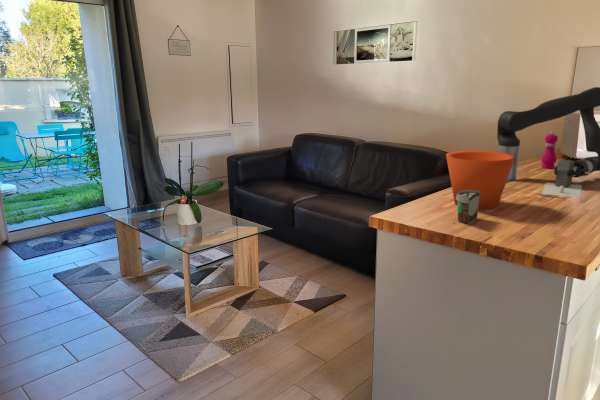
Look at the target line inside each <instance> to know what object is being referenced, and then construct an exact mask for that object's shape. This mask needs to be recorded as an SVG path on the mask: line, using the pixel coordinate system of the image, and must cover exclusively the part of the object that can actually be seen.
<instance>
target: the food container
mask: <svg viewBox="0 0 600 400" xmlns="http://www.w3.org/2000/svg"><path fill="white" fill-rule="evenodd" d="M479 197H480V191H477V190H465V191H460V192H458V194H457V196H456V200H457V201H458V206H457V222H459V223H461V224H462V223H463V225H466V224H467V226H469V225H470V224H472V223H473V222H474V221H476V220H477V219H478V214H479V213H478V212H479V210H478V206H479ZM476 218H477V219H476ZM473 220H474V221H473ZM472 221H473V222H472ZM468 224H469V225H468Z"/></svg>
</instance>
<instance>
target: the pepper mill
mask: <svg viewBox="0 0 600 400" xmlns="http://www.w3.org/2000/svg"><path fill="white" fill-rule="evenodd" d="M549 133H550V134H547V135H546V136H545V138H544V141H545V151H544V153H543V155H542V157H541V160H540V161H541V163H542V164H541V168H542V169H545V170H546V169H548V170H549V169H550V170H555V167H556V165H555V163H556V162H557V155H556V153H555V147H556V146H557V142H558V140H559V138H558V136H557V135H556V134H555V132H554V131H550V132H549Z"/></svg>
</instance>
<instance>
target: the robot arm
mask: <svg viewBox="0 0 600 400" xmlns="http://www.w3.org/2000/svg"><path fill="white" fill-rule="evenodd" d="M598 107H600V87H599V86H595V87H591V88H589V89H587V90H586V89H585V90H583V91H581V92H580V93H578V94H577V93H576V94H573V95H568V96H567V95H566V96H563V97H558V98H553V99H550V100H546V101H544V102H543V103H540V104H539V105H537V107H535V108H531V109H528V110H523V111H512V110H506V111H504V112H502V113H500V116H499V117H498V121H497V131H496V132H497V133H496V134H497V135H496V136H497V137H496V138H497V141H498V145H497V146H498V147H497V152H503V153H508V154H512V155H514V156H515V159H514V162H513V165H512V167H511V170H510V173H509V176H508V179H507V182H506V183H511V182H514V181H515V182H516V181H517V177H518V176H517V174H518V166H519V165H518V163H519V153H520V146H521V145H520V144H521V140H520V138H518V137H517V135H516V132H519V131H522V130H525V129H527V128H529V127H531V126H535V125H537V124H542V123H547V122H549V121H553V120H557V119H561V118H562V117H566V116H569V115H571V114H574V113H575V112H579V113H580V117H581V121H582V125H583V129H584V137H585V140H584V141H585V149H586V152H589V153H596V154H597V156H590V157H589V156H588V157H585V158H583V159H577V160H573V161H574V167H573V171H572V170H571V171H568V172H567V176H568V177H569V176H572V178H580V177H583V176H584V177H586V176H589V174H591V173H593V172H598V171H599V172H600V125H599V123H598V122H597V120H596V118H595V113H594V112H595V110H594V109H595V108H598ZM557 166H558V165H555V168H554V169H553V171H554V173H553V174H554V175H555V176H556V175H557Z"/></svg>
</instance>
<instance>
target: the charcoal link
mask: <svg viewBox="0 0 600 400" xmlns="http://www.w3.org/2000/svg"><path fill="white" fill-rule="evenodd" d="M574 161H575V160H568V159H567V160H566V159H561V160H558V161H557V165H556V166H557V175H555V182H554V183H555V186H564V187H569V186H571V184H572V180H573V177H572V176H569V177H568V176H567V172H568V171H571V170H572V171H573V167H574Z"/></svg>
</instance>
